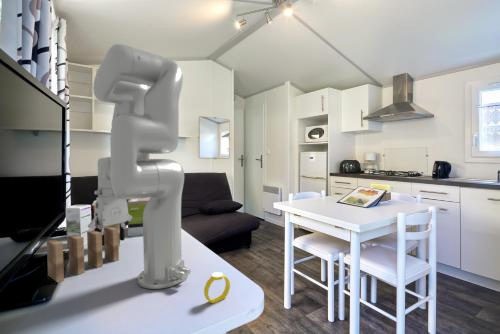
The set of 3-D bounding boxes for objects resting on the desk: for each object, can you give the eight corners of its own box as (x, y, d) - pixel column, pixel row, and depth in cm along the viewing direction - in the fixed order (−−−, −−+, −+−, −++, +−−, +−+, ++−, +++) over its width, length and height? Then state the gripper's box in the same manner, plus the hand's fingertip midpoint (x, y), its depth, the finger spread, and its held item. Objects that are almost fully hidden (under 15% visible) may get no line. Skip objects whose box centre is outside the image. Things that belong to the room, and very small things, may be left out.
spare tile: (117, 245, 92) (116, 218, 92) (120, 246, 91) (119, 218, 91) (103, 249, 88) (103, 221, 87) (106, 250, 87) (105, 221, 86)
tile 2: (102, 266, 74) (101, 232, 74) (97, 268, 73) (96, 234, 73) (93, 262, 77) (92, 230, 76) (88, 264, 75) (87, 231, 75)
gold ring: (224, 294, 59) (226, 269, 59) (231, 299, 57) (232, 273, 57) (201, 301, 55) (203, 274, 55) (207, 307, 53) (209, 279, 53)
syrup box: (92, 241, 96) (91, 204, 95) (80, 247, 90) (79, 207, 89) (79, 241, 96) (77, 204, 96) (66, 246, 91) (65, 207, 90)
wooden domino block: (63, 280, 66) (62, 242, 65) (56, 282, 64) (55, 244, 64) (55, 275, 68) (53, 239, 68) (48, 278, 67) (46, 241, 67)
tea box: (132, 227, 116) (132, 195, 115) (156, 225, 119) (155, 194, 118) (127, 237, 102) (126, 200, 101) (153, 234, 105) (153, 199, 104)
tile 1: (118, 260, 79) (118, 228, 78) (113, 261, 77) (113, 229, 77) (109, 256, 81) (108, 226, 81) (104, 258, 80) (103, 227, 79)
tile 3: (84, 272, 70) (83, 237, 70) (78, 275, 69) (77, 239, 68) (75, 268, 73) (74, 234, 72) (69, 270, 71) (68, 236, 71)
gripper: (90, 196, 79) (92, 252, 80) (139, 190, 94) (140, 237, 95) (78, 194, 83) (80, 248, 84) (127, 188, 98) (128, 234, 99)
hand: (112, 242), depth 89 cm, fingers open, 5 cm apart
